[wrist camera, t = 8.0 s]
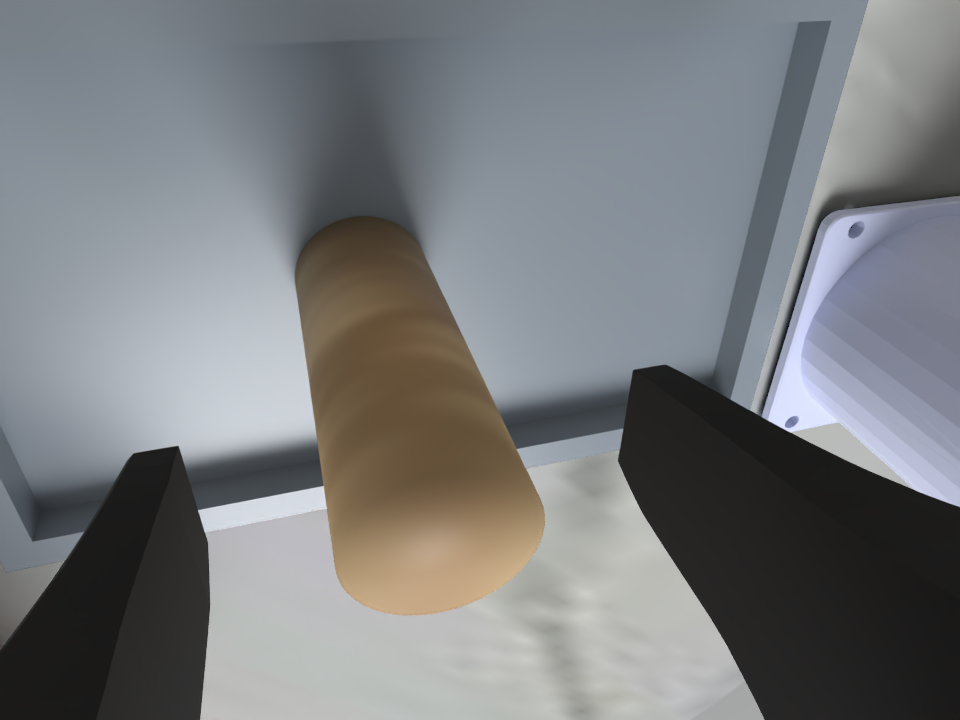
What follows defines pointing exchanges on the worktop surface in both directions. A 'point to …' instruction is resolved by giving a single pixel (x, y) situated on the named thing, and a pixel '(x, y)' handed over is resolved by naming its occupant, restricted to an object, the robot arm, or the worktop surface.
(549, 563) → the worktop surface
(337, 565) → the dowel pin
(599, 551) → the worktop surface
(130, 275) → the tray
